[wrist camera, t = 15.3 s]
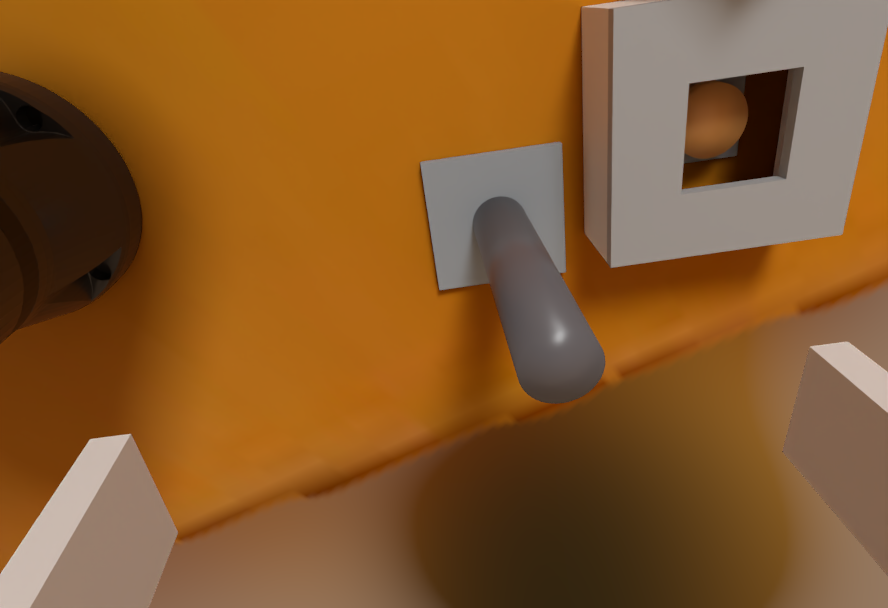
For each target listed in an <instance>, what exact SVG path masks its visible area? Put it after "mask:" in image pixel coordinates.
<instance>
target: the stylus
mask: <svg viewBox="0 0 888 608" xmlns="http://www.w3.org/2000/svg"><path fill="white" fill-rule="evenodd" d="M473 230H474V233H475V236H476V240H477V243H478V246H479V250H480V253H481V256H482V260H483V263H484V266H485V270H486V273H487V276H488V280H489V283H490V286H491V290H492V293H493V296H494V300H495V303H496V306H497V310H498V313H499V316H500V320H501V323H502V326H503V330H504V333H505V336H506V340H507V343H508V346H509V350H510V353H511V356H512V360H513V363H514V366H515V370H516V373H517V377H518V380H519V383H520V385H521V387H522V388H523V390H524V391H525V392H526V393H527V394H528V395H530V396H531V397H532V398H534V399H536V400H539V401H542V402H546V403H565V402H569V401H572V400H575V399H578V398H580V397H582V396H583V395H585V394H586V393H588V392H589V391H590V390H591V389H593V388H594V386H595V385H596V384H597V383H598V381H599V380H600V378H601V376H602V374H603V372H604V368H605V356H604V352H603V350H602V348H601V346H600V344H599V342H598V340H597V339H596V337H595V335H594V333H593V332H592V330H591V328H590V326H589V324H588V323H587V321H586V319H585V317H584V316H583V314H582V312H581V310H580V308H579V307H578V305H577V303H576V301H575V300H574V298H573V296H572V294H571V292H570V291H569V289H568V287H567V285H566V284H565V282H564V280H563V278H562V277H561V275H560V273H559V271H558V269H557V268H556V266H555V264H554V262H553V261H552V259H551V257H550V255H549V253H548V252H547V250H546V248H545V246H544V245H543V243H542V241H541V239H540V237H539V236H538V234H537V232H536V230H535V229H534V227H533V225H532V223H531V221H530V220H529V218H528V216H527V214H526V213H525V211H524V209H523V207H522V206H521V205H520V204H519V203H518V202H517V201H516V200H514V199H512V198H509V197H504V196H499V197H493V198H491V199H488V200H487V201H485V202H484V203H482V204H481V205H480V206H479V208H478V209H477V210H476V212H475V215H474V218H473Z"/></svg>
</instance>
